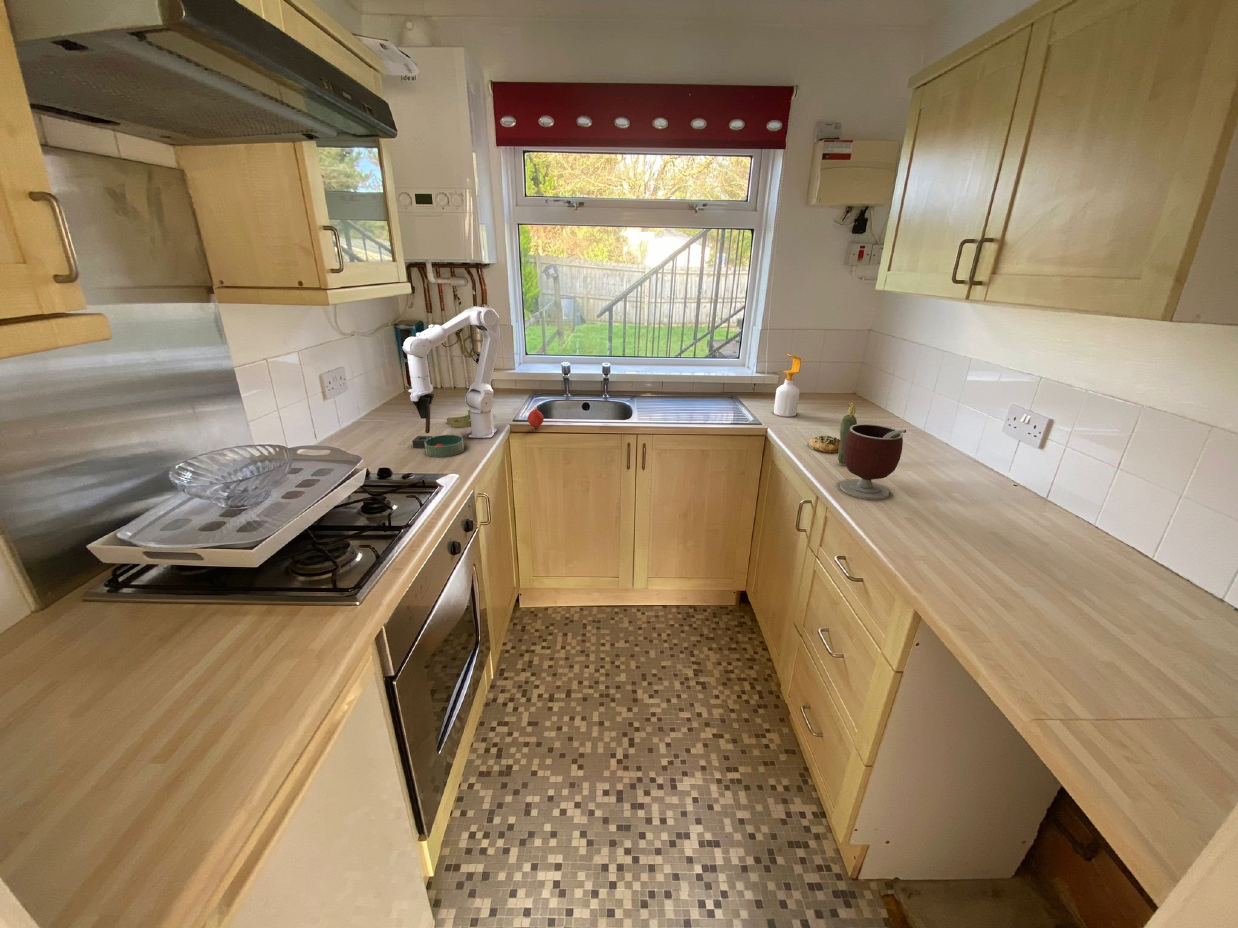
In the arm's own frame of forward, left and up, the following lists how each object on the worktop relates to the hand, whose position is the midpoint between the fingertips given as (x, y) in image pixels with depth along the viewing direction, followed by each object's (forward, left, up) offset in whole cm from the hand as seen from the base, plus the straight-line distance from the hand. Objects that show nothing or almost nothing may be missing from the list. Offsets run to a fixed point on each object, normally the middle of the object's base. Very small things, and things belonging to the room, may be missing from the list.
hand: (425, 417), depth 166 cm
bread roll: (-3, +133, -11) cm, 134 cm away
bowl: (+3, +6, -10) cm, 12 cm away
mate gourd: (+32, +131, -11) cm, 136 cm away
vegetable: (+13, +132, -11) cm, 133 cm away
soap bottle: (-45, +132, -11) cm, 140 cm away
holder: (-2, -3, -10) cm, 11 cm away
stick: (0, 0, -5) cm, 5 cm away
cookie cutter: (-31, +5, -11) cm, 33 cm away
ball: (+7, +6, -8) cm, 12 cm away
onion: (-22, +32, -11) cm, 40 cm away
